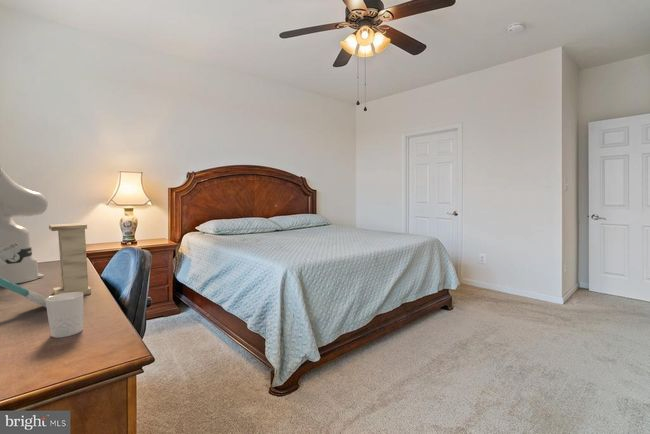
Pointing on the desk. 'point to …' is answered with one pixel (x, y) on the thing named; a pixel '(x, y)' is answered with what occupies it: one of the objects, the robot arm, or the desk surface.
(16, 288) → the turner
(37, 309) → the desk surface
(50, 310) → the white cup
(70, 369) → the desk surface
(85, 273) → the pedestal stand
